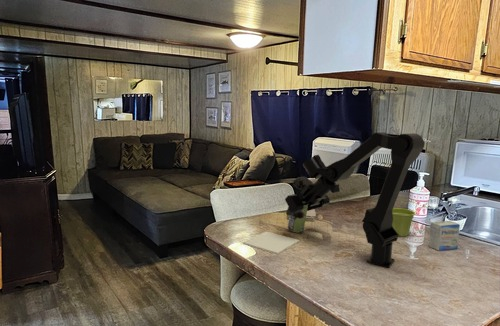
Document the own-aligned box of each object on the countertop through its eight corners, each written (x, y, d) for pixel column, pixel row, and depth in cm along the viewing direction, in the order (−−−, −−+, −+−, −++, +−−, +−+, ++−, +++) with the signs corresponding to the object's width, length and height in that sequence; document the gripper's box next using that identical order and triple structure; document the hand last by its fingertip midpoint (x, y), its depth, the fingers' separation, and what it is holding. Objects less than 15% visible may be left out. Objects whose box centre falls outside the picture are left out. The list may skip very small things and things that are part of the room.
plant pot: (391, 238, 123) (393, 214, 122) (382, 229, 133) (383, 207, 132) (417, 238, 123) (419, 215, 122) (406, 230, 132) (408, 208, 131)
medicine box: (438, 251, 112) (440, 225, 111) (428, 246, 116) (430, 221, 115) (457, 249, 114) (460, 224, 113) (446, 244, 118) (449, 220, 117)
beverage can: (293, 227, 134) (294, 196, 132) (309, 231, 129) (311, 200, 127) (284, 231, 129) (285, 199, 127) (301, 235, 124) (302, 203, 123)
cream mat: (277, 254, 107) (277, 252, 107) (242, 243, 115) (242, 242, 115) (299, 241, 118) (299, 240, 118) (266, 232, 127) (266, 231, 127)
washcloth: (287, 221, 142) (287, 214, 141) (287, 209, 160) (287, 203, 159) (316, 223, 141) (317, 215, 140) (313, 211, 158) (313, 204, 158)
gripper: (325, 168, 128) (301, 191, 138) (289, 173, 117) (267, 198, 127) (341, 193, 123) (316, 215, 133) (306, 200, 112) (281, 224, 122)
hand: (295, 212), depth 129 cm, fingers open, 9 cm apart
